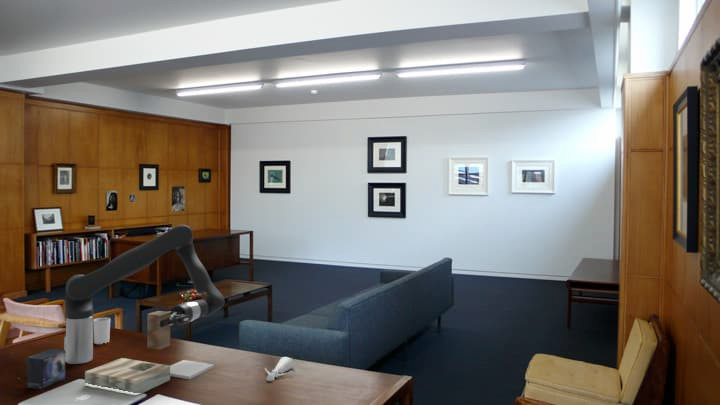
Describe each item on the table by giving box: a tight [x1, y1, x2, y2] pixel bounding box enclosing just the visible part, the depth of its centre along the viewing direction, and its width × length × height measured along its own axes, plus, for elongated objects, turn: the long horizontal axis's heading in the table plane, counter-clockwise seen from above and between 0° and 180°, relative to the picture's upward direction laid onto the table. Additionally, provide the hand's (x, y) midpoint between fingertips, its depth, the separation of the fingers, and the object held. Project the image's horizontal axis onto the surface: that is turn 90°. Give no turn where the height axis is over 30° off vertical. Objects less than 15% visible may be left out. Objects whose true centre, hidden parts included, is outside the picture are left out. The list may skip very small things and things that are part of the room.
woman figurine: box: [264, 356, 295, 382], centre depth 192 cm, size 12×4×18 cm
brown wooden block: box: [146, 310, 171, 350], centre depth 186 cm, size 5×5×12 cm
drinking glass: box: [93, 317, 111, 345], centre depth 227 cm, size 7×7×10 cm
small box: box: [26, 348, 66, 390], centre depth 179 cm, size 11×6×10 cm, turn 168°
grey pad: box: [169, 359, 215, 380], centre depth 194 cm, size 14×14×1 cm
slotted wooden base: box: [84, 357, 171, 394], centre depth 180 cm, size 22×16×5 cm
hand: (153, 323), depth 184 cm, fingers closed on brown wooden block, 5 cm apart
